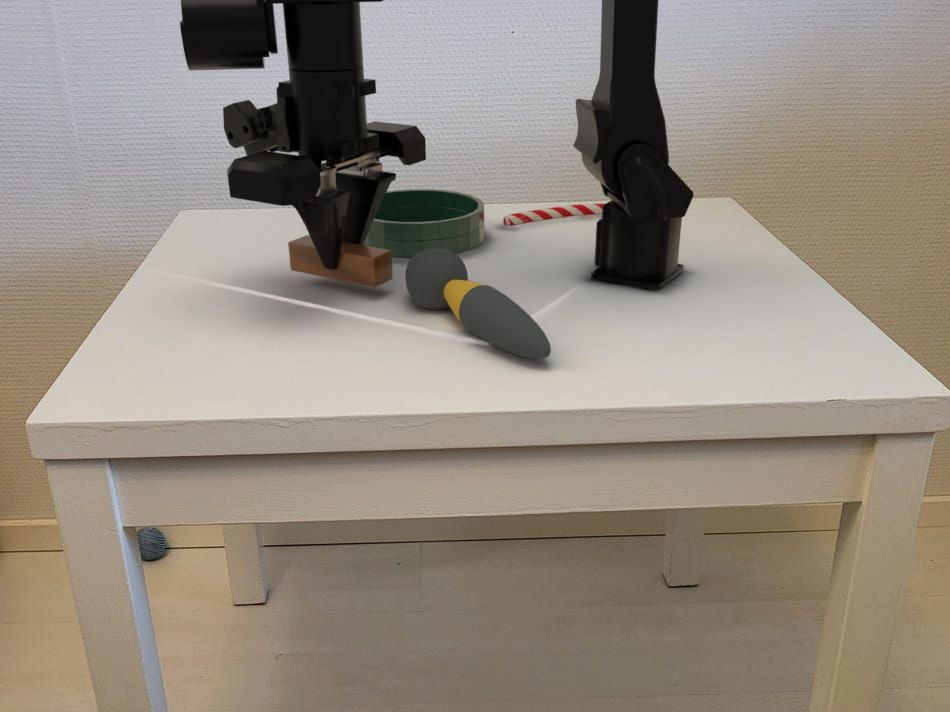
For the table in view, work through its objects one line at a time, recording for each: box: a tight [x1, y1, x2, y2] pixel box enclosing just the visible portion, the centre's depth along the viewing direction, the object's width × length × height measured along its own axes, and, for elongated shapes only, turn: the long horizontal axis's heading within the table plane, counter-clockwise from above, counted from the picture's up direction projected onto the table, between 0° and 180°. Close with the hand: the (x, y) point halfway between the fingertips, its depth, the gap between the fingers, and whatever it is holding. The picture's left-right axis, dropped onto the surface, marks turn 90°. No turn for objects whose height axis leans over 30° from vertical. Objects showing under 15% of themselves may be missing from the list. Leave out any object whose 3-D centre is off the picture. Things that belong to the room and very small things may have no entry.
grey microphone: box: [404, 248, 552, 360], centre depth 76 cm, size 20×5×5 cm, turn 38°
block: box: [287, 234, 394, 288], centre depth 83 cm, size 9×2×2 cm, turn 59°
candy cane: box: [502, 203, 605, 226], centre depth 103 cm, size 8×1×15 cm
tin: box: [363, 188, 485, 259], centre depth 97 cm, size 13×13×4 cm
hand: (341, 264), depth 84 cm, fingers closed on block, 2 cm apart
